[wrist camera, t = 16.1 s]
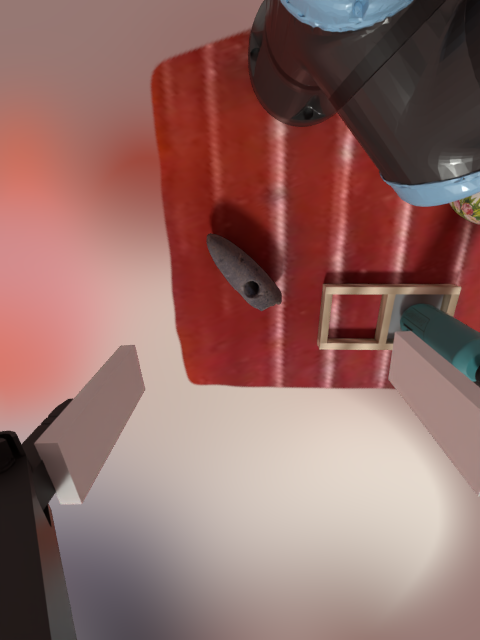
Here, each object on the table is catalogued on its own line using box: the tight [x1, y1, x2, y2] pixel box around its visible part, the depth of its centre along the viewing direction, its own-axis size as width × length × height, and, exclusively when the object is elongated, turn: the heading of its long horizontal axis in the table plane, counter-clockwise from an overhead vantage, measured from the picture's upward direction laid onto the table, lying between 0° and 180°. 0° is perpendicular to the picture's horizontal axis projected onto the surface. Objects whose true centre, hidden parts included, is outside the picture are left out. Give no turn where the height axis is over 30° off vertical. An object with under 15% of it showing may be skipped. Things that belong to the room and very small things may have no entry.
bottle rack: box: [317, 284, 461, 350], centre depth 51 cm, size 22×11×2 cm, turn 90°
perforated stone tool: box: [207, 234, 282, 311], centre depth 46 cm, size 15×5×7 cm, turn 42°
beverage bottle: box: [400, 303, 480, 382], centre depth 42 cm, size 6×7×20 cm
